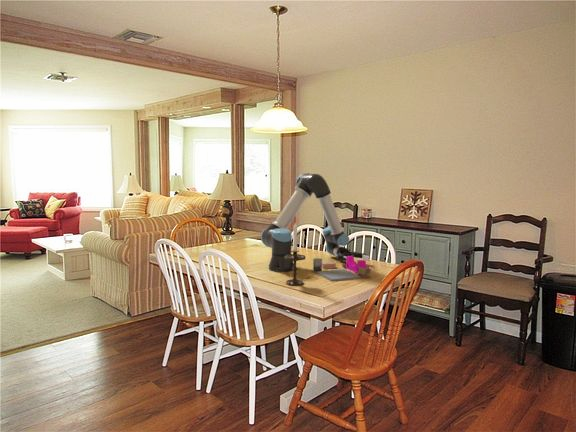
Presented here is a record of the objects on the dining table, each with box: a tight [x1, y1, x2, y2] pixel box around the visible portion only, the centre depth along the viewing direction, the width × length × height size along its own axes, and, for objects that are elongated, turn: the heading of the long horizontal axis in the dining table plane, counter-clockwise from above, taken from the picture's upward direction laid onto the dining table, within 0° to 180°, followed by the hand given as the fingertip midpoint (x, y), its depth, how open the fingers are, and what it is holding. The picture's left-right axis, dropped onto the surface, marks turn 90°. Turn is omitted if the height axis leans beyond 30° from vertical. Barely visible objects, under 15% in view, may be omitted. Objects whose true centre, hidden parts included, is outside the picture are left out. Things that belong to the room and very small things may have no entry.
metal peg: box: [312, 257, 323, 273], centre depth 244 cm, size 5×5×7 cm
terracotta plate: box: [322, 261, 337, 269], centre depth 253 cm, size 8×5×3 cm, turn 104°
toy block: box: [345, 255, 370, 274], centre depth 245 cm, size 15×6×8 cm, turn 23°
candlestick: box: [285, 217, 306, 287], centre depth 215 cm, size 11×11×35 cm
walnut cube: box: [357, 267, 372, 279], centre depth 231 cm, size 5×5×5 cm
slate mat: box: [316, 268, 362, 282], centre depth 234 cm, size 18×18×1 cm
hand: (359, 259), depth 252 cm, fingers open, 13 cm apart
